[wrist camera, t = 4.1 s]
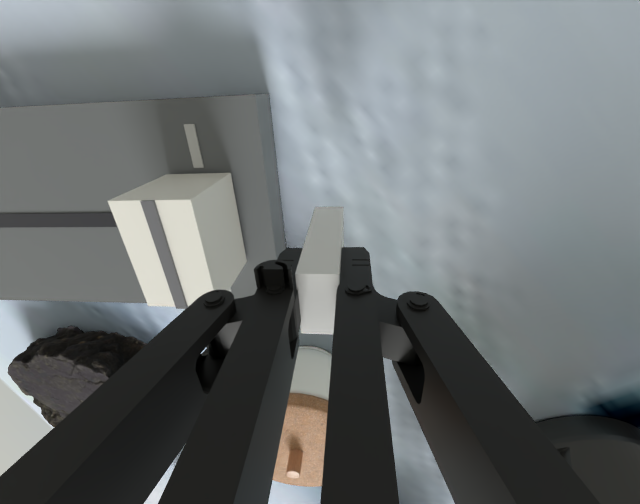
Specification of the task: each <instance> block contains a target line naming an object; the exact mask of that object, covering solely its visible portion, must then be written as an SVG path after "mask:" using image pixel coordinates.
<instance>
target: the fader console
mask: <svg viewBox="0 0 640 504" xmlns="http://www.w3.org/2000/svg"><path fill="white" fill-rule="evenodd" d="M199 173H231V177H232V183H233V188H234V194H235V199H236V205H237V210H238V216H239V221H240V227H241V232H242V238H243V243H244V249H245V254H246V259H247V262H246V264H245V265H244V267H243V268H242V270H241V272H240V273H239V275H238V276H237V278H236V280H235V281H234V283H233V285H232V286H231V288H230V289H229V291H230V292H231V293H232V294H233V295H234V299H238V298H243V297H248V296H252V295H254V294H255V292H256V290H257V285H256V280H255V274H254V268H255V267H256V266H257V265H259V264H260V263H262V262H265V261H269V260H277V259H278V257H279V254H280V253H281V252H282V251H284V250H285V249H286V243H285V234H284V225H283V216H282V207H281V198H280V189H279V180H278V171H277V162H276V153H275V143H274V134H273V125H272V116H271V107H270V98H269V94H251V95H232V96H213V97H194V98H175V99H156V100H137V101H118V102H98V103H79V104H60V105H41V106H22V107H3V108H0V300H35V301H78V302H121V303H147V301H146V299H145V296H144V294H143V291H142V288H141V286H140V283H139V281H138V278H137V276H136V273H135V270H134V268H133V265H132V263H131V260H130V258H129V255H128V252H127V250H126V247H125V245H124V242H123V240H122V237H121V234H120V232H119V229H118V227H117V224H116V222H115V219H114V216H113V214H112V211H111V209H110V206H109V204H108V200H111V199H113V198H115V197H117V196H119V195H122V194H124V193H126V192H128V191H131V190H133V189H135V188H137V187H139V186H142V185H144V184H146V183H148V182H151V181H153V180H155V179H157V178H159V177H162V176H164V175H166V174H199Z"/></svg>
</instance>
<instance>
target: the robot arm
mask: <svg viewBox="0 0 640 504" xmlns="http://www.w3.org/2000/svg"><path fill="white" fill-rule="evenodd" d="M254 274H255V280H256V285H257V290H256V292H255V294H254V295H252V296H248V297H243V298H238V299H234V295H233V294H232V293H231V292H230V291H227V290H213V291H210V292H207V293H205V294H203V295H202V296H200V297H199V298H197V299H196V300H195V301H194V302H193V303H192V304H191V305H190V306H189V307H188V308H186V309H185V310H184V311H183V312H182V313H181V314H180V315H179V316H178V317H176V318H175V319H174V320H173V321H172V322H171V323H170V324H169V325H168V326H166V327H165V328H164V329H163V330H162V331H161V332H160V333H159V334H158V335H156V336H155V337H154V338H153V339H152V340H151V341H150V342H149V343H148V344H146V345H145V346H144V347H143V348H142V349H141V350H140V351H139V352H138V353H137V354H135V355H134V356H133V357H132V358H131V359H130V360H129V361H128V362H127V363H125V364H124V365H123V366H122V367H121V368H120V369H119V370H118V371H117V372H115V373H114V374H113V375H112V376H111V377H110V378H109V379H108V380H107V381H105V382H104V383H103V384H102V385H101V386H100V387H99V388H98V389H97V390H95V391H94V392H93V393H92V394H91V395H90V396H89V397H88V398H87V399H86V400H84V401H83V402H82V403H81V404H80V405H79V406H78V407H77V408H76V409H74V410H73V411H72V412H71V413H70V414H69V415H68V416H67V417H66V418H64V419H63V420H62V421H61V422H60V423H59V424H58V425H57V426H56V427H54V428H53V429H52V430H51V431H50V432H49V433H48V434H47V435H46V436H44V437H43V438H42V439H41V440H40V441H39V442H38V443H37V444H36V445H35V446H33V447H32V448H31V449H30V450H29V451H28V452H27V453H26V454H25V455H24V456H22V457H21V458H20V459H19V460H18V461H17V462H16V463H15V464H13V465H12V466H11V467H10V468H9V469H8V470H7V471H6V472H5V473H3V474H2V475H1V476H0V504H144V502H145V501H146V499H147V498H148V496H149V495H150V493H151V492H152V491H153V489H154V488H155V486H156V485H157V483H158V482H159V481H160V479H161V478H162V476H163V475H164V473H165V472H166V471H167V469H168V468H169V466H170V465H171V463H172V462H173V461H174V459H175V458H176V456H177V455H178V453H179V452H180V450H181V449H182V448H183V446H184V445H185V446H184V448H183V451H182V453H181V455H180V457H179V459H178V461H177V464H176V466H175V468H174V470H173V472H172V475H171V477H170V479H169V481H168V483H167V485H166V488H165V490H164V492H163V494H162V496H161V498H160V501H159V503H158V504H268V500H269V495H270V490H271V484H272V479H273V474H274V469H275V464H276V459H277V454H278V449H279V444H280V439H281V434H282V429H283V424H284V419H285V414H286V409H287V404H288V399H289V394H290V388H291V383H292V378H293V373H294V368H295V363H296V358H297V353H298V348H299V334H298V333H299V328H300V327H301V334H333V346H332V359H331V372H330V386H329V399H328V412H327V425H326V438H325V451H324V465H323V478H322V491H321V504H399V498H398V489H397V480H396V471H395V462H394V453H393V445H392V436H391V427H390V418H389V409H388V400H387V391H386V382H385V373H384V365H383V357H384V358H387V359H391V360H392V363H393V366H394V369H395V371H396V373H397V375H398V377H399V380H400V382H401V384H402V386H403V389H404V391H405V393H406V395H407V397H408V400H409V402H410V404H411V406H412V409H413V411H414V413H415V415H416V417H417V420H418V422H419V424H420V426H421V429H422V431H423V433H424V435H425V437H426V440H427V442H428V444H429V446H430V449H431V451H432V453H433V455H434V457H435V460H436V462H437V464H438V466H439V469H440V471H441V473H442V475H443V477H444V480H445V482H446V484H447V486H448V489H449V491H450V493H451V495H452V497H453V500H454V502H455V504H640V429H638V428H637V427H635V426H633V425H631V424H629V423H626V422H624V421H620V420H617V419H613V418H607V417H600V416H569V417H561V418H555V419H550V420H546V421H542V422H538V423H535V422H534V420H533V419H532V418H531V417H530V415H529V414H528V413H527V412H526V410H525V409H524V408H523V407H522V405H521V404H520V403H519V402H518V400H517V399H516V398H515V397H514V395H513V394H512V393H511V392H510V390H509V389H508V388H507V387H506V385H505V384H504V383H503V382H502V380H501V379H500V378H499V377H498V375H497V374H496V373H495V372H494V370H493V369H492V368H491V367H490V365H489V364H488V363H487V362H486V360H485V359H484V358H483V357H482V355H481V354H480V353H479V352H478V350H477V349H476V348H475V347H474V345H473V344H472V343H471V342H470V340H469V339H468V338H467V337H466V335H465V334H464V333H463V332H462V330H461V329H460V328H459V327H458V325H457V324H456V323H455V322H454V320H453V319H452V318H451V317H450V315H449V314H448V313H447V312H446V310H445V309H444V308H443V307H442V305H441V304H440V303H439V302H438V301H437V300H436V299H435V298H434V297H433V296H431V295H428V294H426V293H422V292H407V293H403V294H402V295H400V296H399V297H398V300H395V299H391V298H387V297H384V296H382V295H380V294H379V293H378V292H376V291H375V289H374V287H373V284H372V274H371V266H370V256H369V252H368V251H367V250H366V249H365V248H364V247H344V226H343V207H315V209H314V212H313V216H312V219H311V222H310V226H309V229H308V232H307V236H306V239H305V242H304V246H303V248H286V249H285V250H284V251H282V252H281V253H280V254H279V257H278V259H277V260H269V261H265V262H262V263H260V264H259V265H257V266H256V267H255V268H254ZM205 347H207V349H206V350H205V351H204V352H203V353H202V354H200V353H201V352H202V351H203V350H204V349H205ZM185 443H186V444H185Z"/></svg>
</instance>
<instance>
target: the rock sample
mask: <svg viewBox="0 0 640 504" xmlns="http://www.w3.org/2000/svg"><path fill="white" fill-rule="evenodd" d="M57 331H58V332H57V334H56V335H55V336H52V337H49V338H40V339H37V340H36V341H35V342H33V343H31V344H30V346H29V347H27V350H26V351H24V352H23V353H21V354H19V355H17V356H16V357H15V358H14V359H13V361H12V363H11V364H10V365H9V367H8V374H9V375H10V376H11V378H12V380H13V381H14V382H15V383H16V384H17V385H18V386H19V388H20V389H21V391H22V392H23V393H24V394H26V395H30V396H33V397H34V400H33V402H34V403H35V404H36V405H37V406H39V407H41V410H42V413H41V414H42V415H43V416H44V418H45V419H46V420H47V421H48V423H49V424H51V425H52V426H53V427H56V426H57V425H58V424H59V423H60V422H61V421H62V420H63V419H64V418H66V417H67V416H68V415H69V414H70V413H71V412H72V411H73V410H74V409H76V408H77V407H78V406H79V405H80V404H81V403H82V402H83V401H84V400H86V399H87V398H88V397H89V396H90V395H91V394H92V393H93V392H94V391H95V390H97V389H98V388H99V387H100V386H101V385H102V384H103V383H104V382H105V381H107V380H108V379H109V378H110V377H111V376H112V375H113V374H114V373H115V372H117V371H118V370H119V369H120V368H121V367H122V366H123V365H124V364H125V363H127V362H128V361H129V360H130V359H131V358H132V357H133V356H134V355H135V354H137V353H138V352H139V351H140V350H141V349H142V348H143V347H144V346H145V345H146V343H144V342H142V341H140V340H137V339H136V338H134V337H125V336H123V335H120V334H118V333H117V332H116V333H110V334H109V333H106V332H104V331H98V332H96V331H91V332H86V333H84V332H83V331H82V330H80V329H79V328H78V327H73V326H69V327H67V328H59V329H57Z"/></svg>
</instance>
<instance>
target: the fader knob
mask: <svg viewBox="0 0 640 504" xmlns="http://www.w3.org/2000/svg"><path fill="white" fill-rule="evenodd" d="M108 204H109V206H110V209H111V211H112V214H113V216H114V219H115V222H116V224H117V227H118V229H119V232H120V234H121V237H122V240H123V242H124V245H125V247H126V250H127V252H128V255H129V258H130V260H131V263H132V265H133V268H134V270H135V273H136V276H137V278H138V281H139V283H140V286H141V288H142V291H143V294H144V296H145V299H146V301H147V304H148V306H169V307H176V308H178V309H186V308H188V307H189V306H190V305H191V304H192V303H193V302H194V301H195V300H196V299H197V298H199V297H200V296H202V295H203V294H205V293H207V292H210V291H213V290H227V291H229V289H230V288H231V286H232V285H233V283H234V281H235V280H236V278H237V276H238V275H239V273H240V272H241V270H242V268H243V267H244V265H245V264H246V262H247V259H246V254H245V249H244V243H243V238H242V232H241V227H240V221H239V216H238V210H237V205H236V199H235V194H234V188H233V183H232V177H231V173H199V174H166V175H164V176H162V177H159V178H157V179H155V180H153V181H151V182H148V183H146V184H144V185H142V186H139V187H137V188H135V189H133V190H131V191H128V192H126V193H124V194H122V195H119V196H117V197H115V198H113V199H111V200H108Z"/></svg>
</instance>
